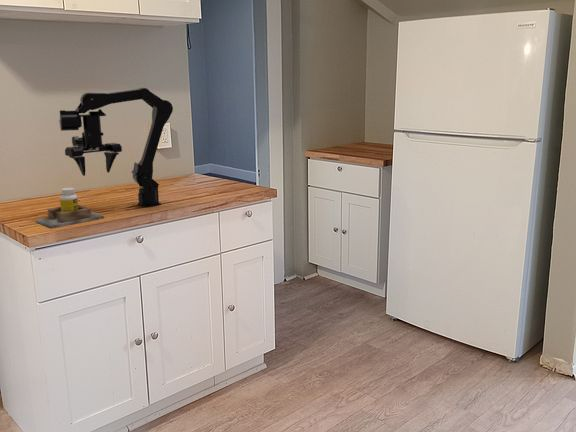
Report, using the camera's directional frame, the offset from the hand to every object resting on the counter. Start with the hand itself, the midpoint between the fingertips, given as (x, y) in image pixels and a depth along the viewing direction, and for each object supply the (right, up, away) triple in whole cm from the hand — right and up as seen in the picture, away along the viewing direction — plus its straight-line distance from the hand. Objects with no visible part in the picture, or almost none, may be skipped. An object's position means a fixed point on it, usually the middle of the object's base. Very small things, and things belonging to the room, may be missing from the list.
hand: (96, 174), depth 197 cm
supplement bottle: (-5, -16, -11) cm, 20 cm away
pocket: (-5, -16, -11) cm, 20 cm away
